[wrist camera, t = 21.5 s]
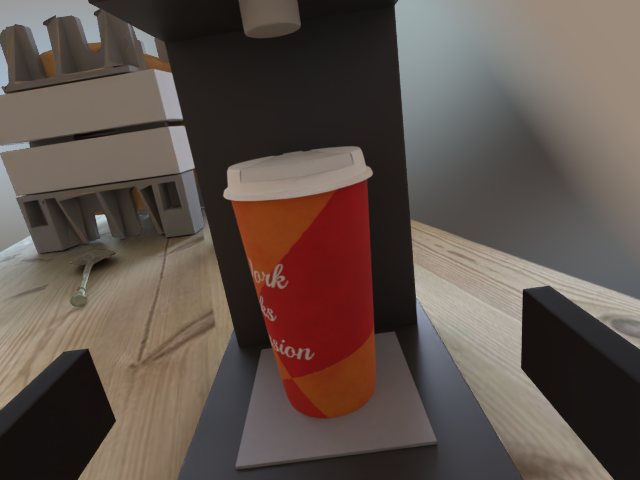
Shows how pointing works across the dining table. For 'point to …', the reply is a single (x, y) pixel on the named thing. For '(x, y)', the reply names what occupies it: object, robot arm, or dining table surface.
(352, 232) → the paper cup
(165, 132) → the transformer
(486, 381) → the dining table surface
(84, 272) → the soupspoon
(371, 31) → the coffee maker
